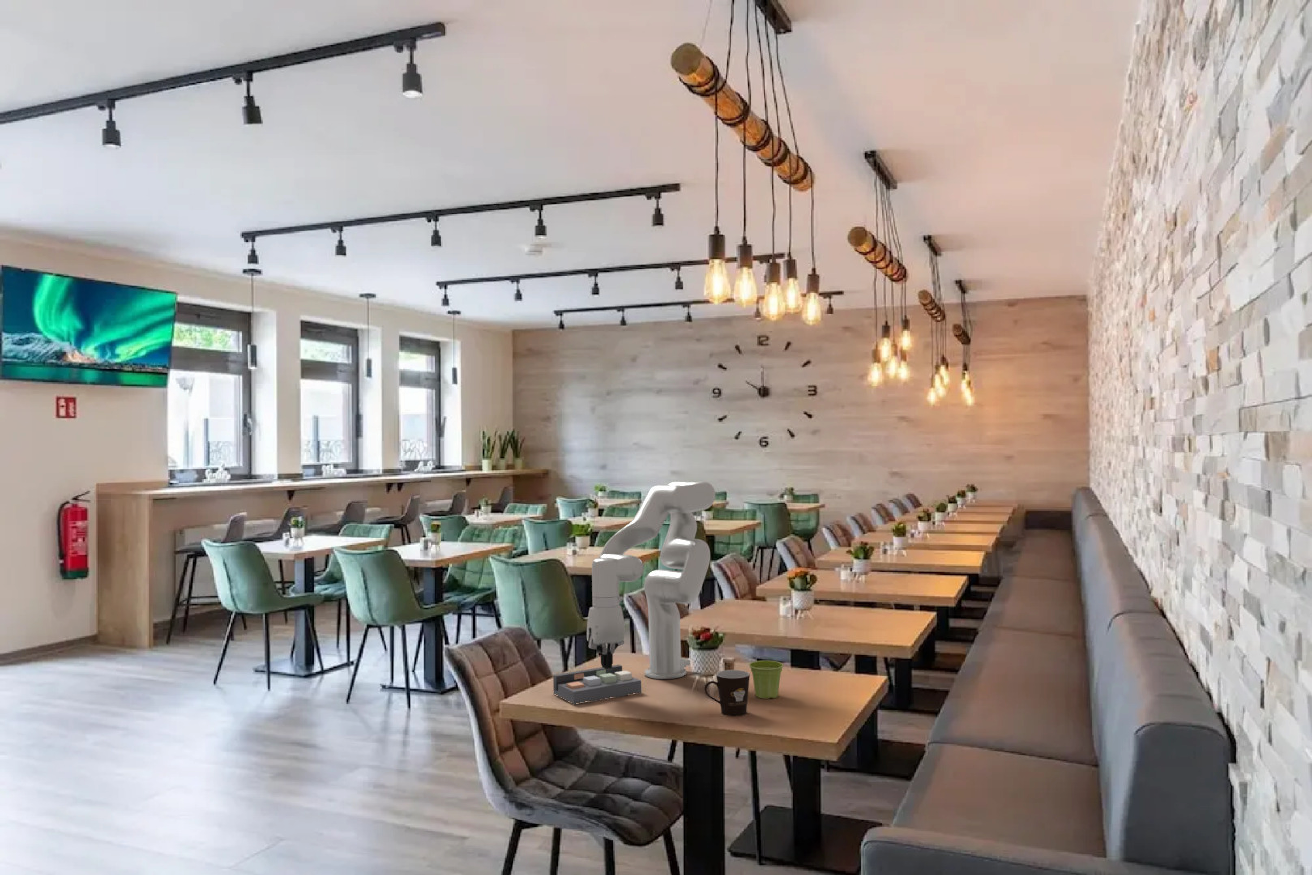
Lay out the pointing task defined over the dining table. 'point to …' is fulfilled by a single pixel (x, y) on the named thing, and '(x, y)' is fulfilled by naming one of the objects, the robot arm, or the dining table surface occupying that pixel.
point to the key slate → (591, 681)
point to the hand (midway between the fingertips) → (606, 667)
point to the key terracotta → (575, 685)
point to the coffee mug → (732, 691)
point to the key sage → (607, 678)
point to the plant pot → (766, 678)
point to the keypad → (597, 690)
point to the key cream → (623, 675)
